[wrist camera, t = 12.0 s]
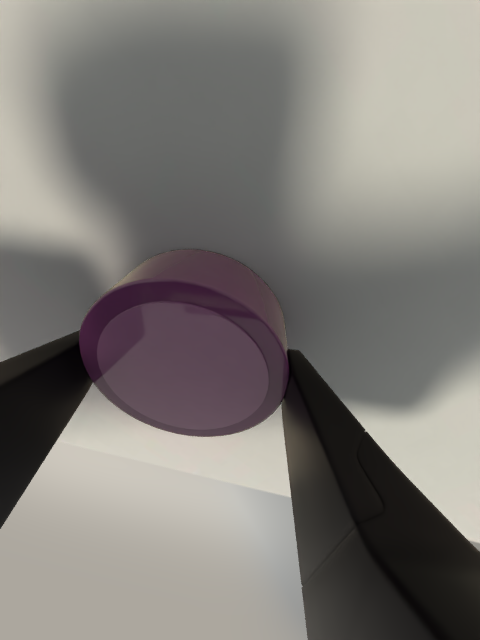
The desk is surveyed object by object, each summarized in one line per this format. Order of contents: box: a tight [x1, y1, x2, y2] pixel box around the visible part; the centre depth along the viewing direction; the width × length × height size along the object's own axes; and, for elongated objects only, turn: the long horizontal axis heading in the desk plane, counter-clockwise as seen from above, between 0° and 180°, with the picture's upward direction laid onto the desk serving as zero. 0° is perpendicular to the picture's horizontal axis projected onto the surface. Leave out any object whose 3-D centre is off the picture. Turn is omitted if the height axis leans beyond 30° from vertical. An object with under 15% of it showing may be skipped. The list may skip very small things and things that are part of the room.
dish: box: [79, 249, 290, 437], centre depth 8 cm, size 6×6×2 cm
